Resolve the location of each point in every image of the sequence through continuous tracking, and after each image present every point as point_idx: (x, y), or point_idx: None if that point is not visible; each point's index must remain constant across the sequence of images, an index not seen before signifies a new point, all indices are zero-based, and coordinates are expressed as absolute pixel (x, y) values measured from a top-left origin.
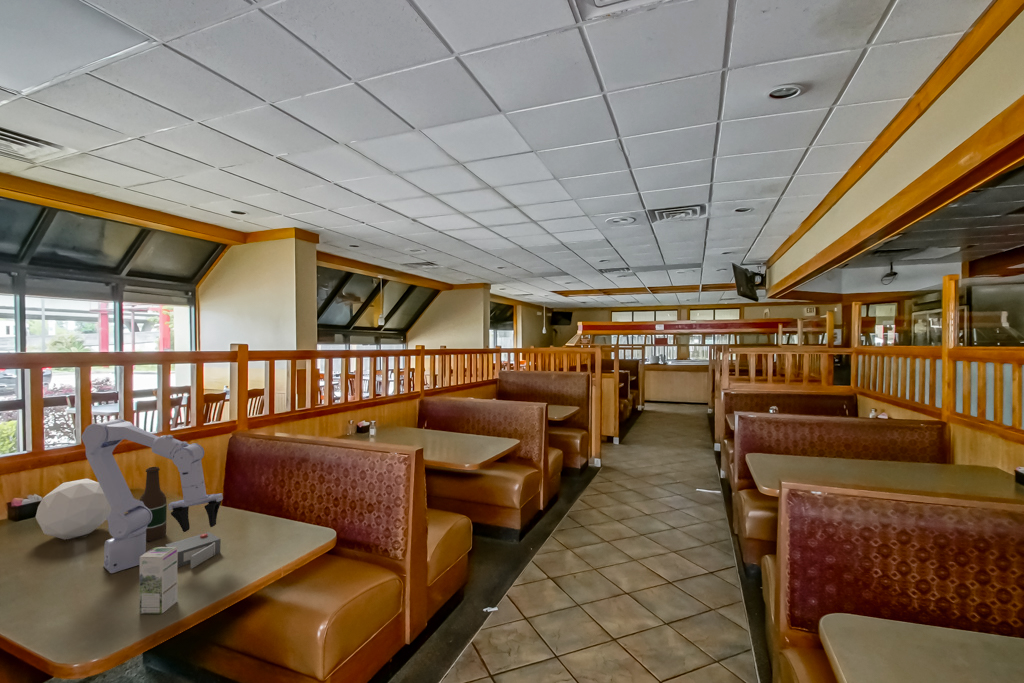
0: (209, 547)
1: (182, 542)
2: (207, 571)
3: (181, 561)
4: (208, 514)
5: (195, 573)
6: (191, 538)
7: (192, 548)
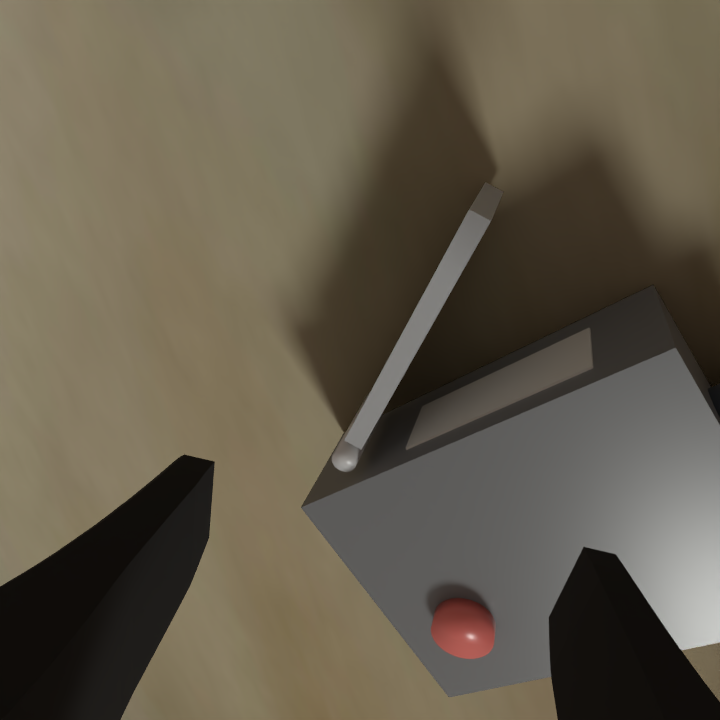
0: (366, 400)
1: (645, 590)
2: (341, 92)
3: (608, 324)
4: (70, 610)
5: (439, 83)
6: None
7: (513, 411)
